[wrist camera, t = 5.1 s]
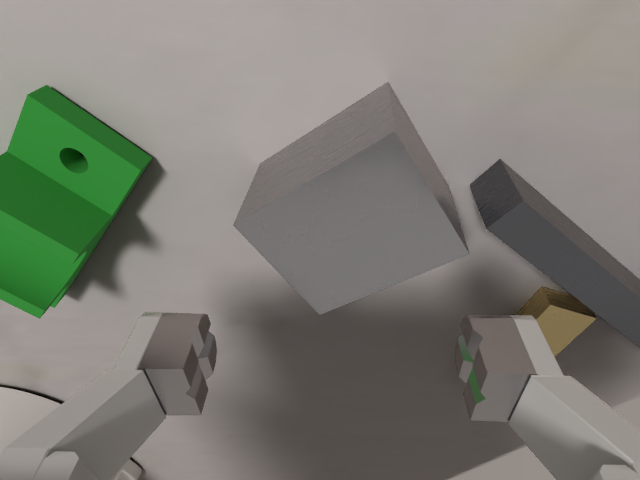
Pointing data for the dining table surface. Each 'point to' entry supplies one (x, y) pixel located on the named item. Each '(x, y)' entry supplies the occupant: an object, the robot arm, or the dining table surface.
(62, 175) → the pipe clamp
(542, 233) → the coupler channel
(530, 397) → the robot arm
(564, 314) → the brass key
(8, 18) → the dining table surface
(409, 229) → the block
